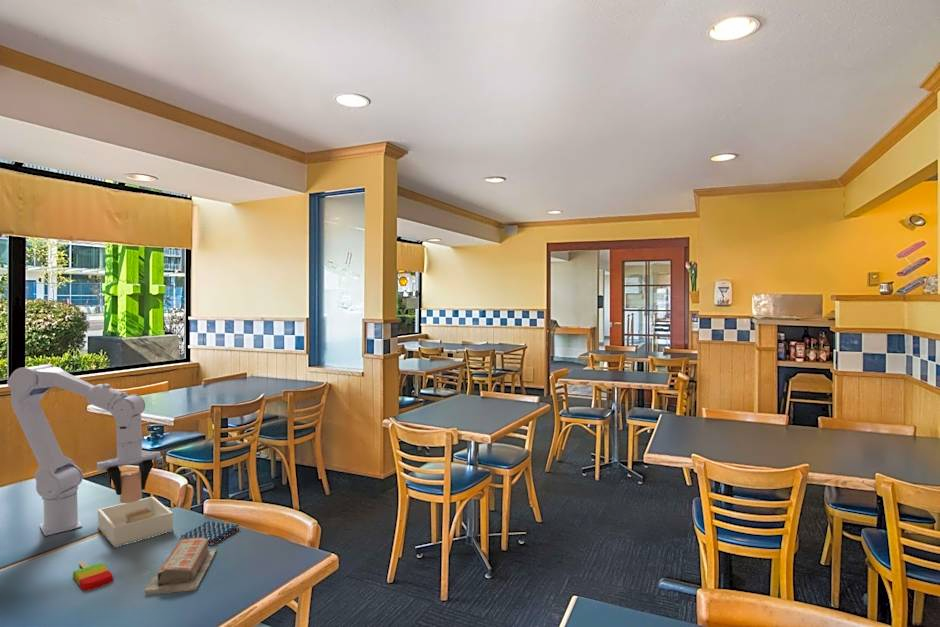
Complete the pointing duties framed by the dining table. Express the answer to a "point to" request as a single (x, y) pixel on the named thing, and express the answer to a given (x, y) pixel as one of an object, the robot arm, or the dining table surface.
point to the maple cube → (138, 515)
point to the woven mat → (211, 531)
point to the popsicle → (92, 576)
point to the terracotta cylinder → (131, 486)
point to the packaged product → (183, 567)
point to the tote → (122, 533)
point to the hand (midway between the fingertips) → (130, 491)
